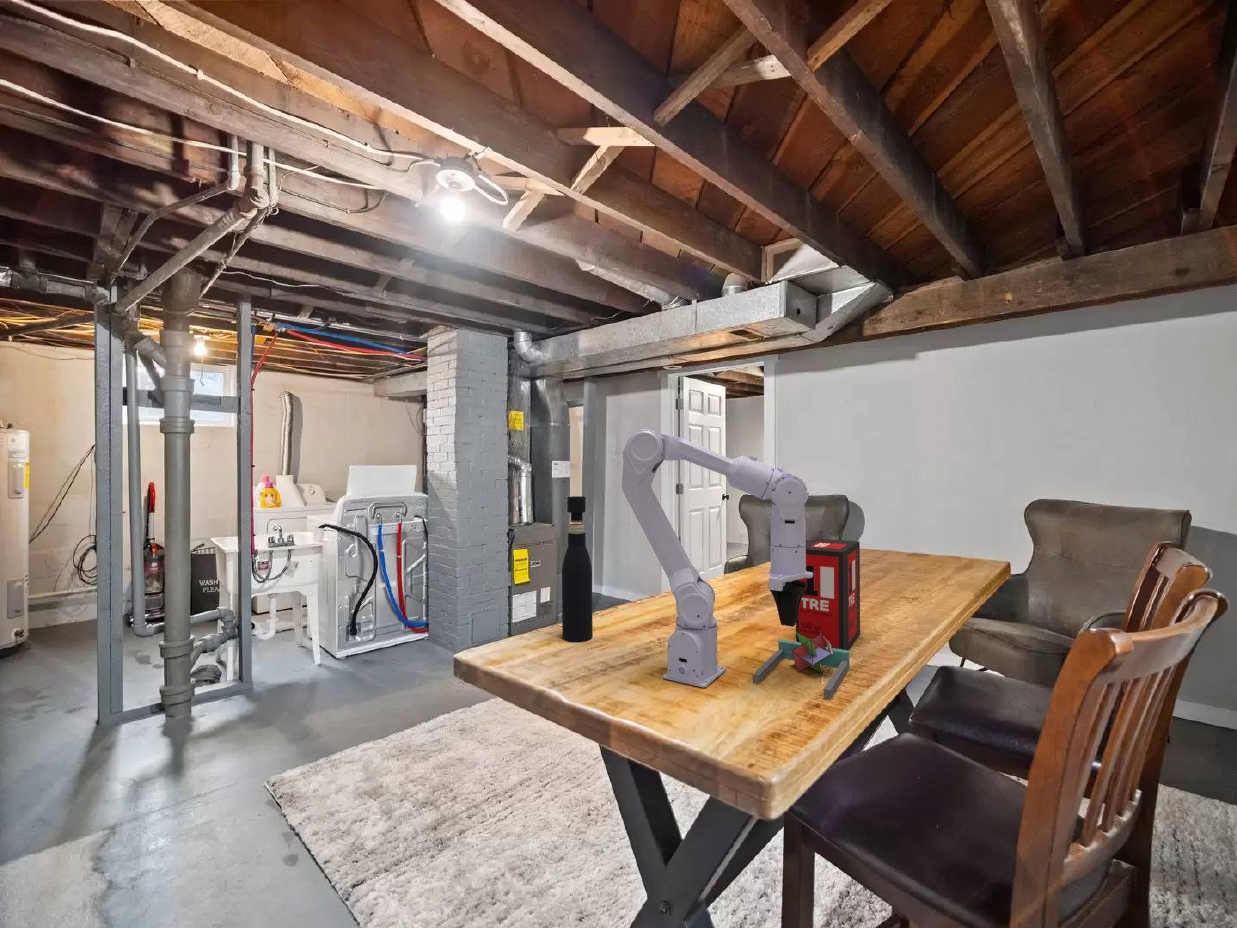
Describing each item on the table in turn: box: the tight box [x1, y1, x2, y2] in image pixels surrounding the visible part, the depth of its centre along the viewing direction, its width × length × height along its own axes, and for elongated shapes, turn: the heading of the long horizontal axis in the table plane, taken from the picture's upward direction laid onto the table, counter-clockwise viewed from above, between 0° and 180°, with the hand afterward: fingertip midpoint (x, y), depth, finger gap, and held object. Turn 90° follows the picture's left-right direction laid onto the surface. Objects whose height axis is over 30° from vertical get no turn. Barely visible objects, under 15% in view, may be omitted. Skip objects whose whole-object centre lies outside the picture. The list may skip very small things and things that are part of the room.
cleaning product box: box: [795, 538, 861, 651], centre depth 113 cm, size 16×9×20 cm, turn 146°
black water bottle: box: [561, 495, 593, 643], centre depth 117 cm, size 6×6×30 cm
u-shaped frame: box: [752, 638, 851, 701], centre depth 96 cm, size 16×12×3 cm
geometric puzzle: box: [789, 631, 833, 675], centre depth 98 cm, size 7×7×8 cm
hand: (788, 624), depth 93 cm, fingers closed
